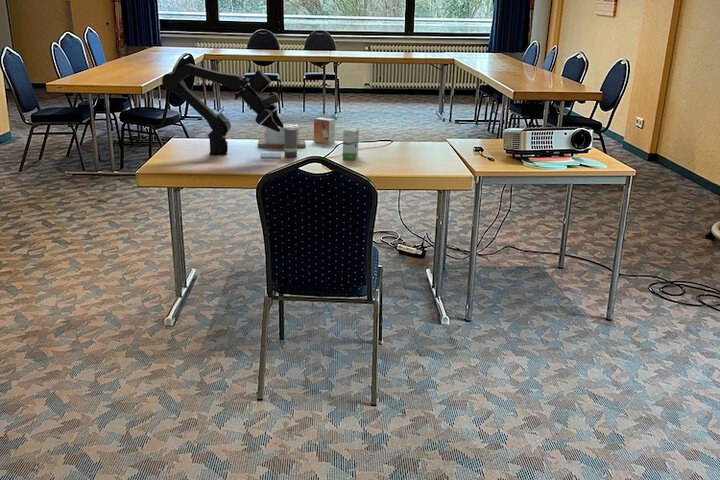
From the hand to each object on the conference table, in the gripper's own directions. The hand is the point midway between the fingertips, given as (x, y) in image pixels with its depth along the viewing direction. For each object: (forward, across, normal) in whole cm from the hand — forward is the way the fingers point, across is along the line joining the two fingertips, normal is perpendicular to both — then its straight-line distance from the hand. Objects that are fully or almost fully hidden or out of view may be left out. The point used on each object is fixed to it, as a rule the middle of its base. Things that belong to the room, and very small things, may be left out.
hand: (281, 129), depth 275 cm
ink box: (+28, +2, -12) cm, 30 cm away
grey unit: (+6, +21, +10) cm, 24 cm away
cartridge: (+10, 0, +5) cm, 12 cm away
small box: (+18, +32, -2) cm, 37 cm away
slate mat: (+5, -1, +11) cm, 12 cm away
